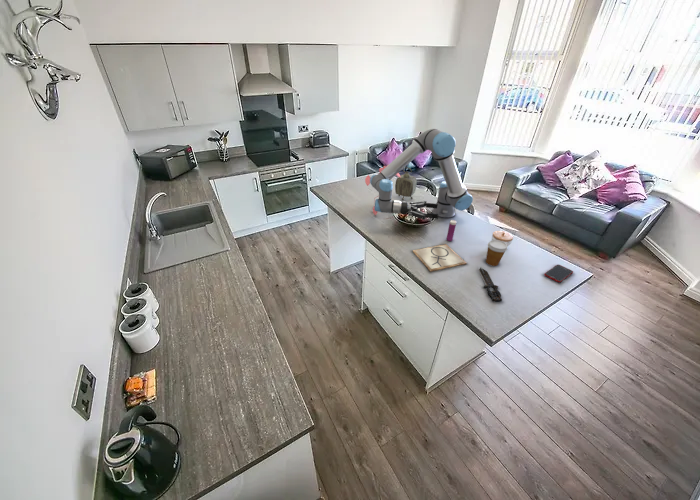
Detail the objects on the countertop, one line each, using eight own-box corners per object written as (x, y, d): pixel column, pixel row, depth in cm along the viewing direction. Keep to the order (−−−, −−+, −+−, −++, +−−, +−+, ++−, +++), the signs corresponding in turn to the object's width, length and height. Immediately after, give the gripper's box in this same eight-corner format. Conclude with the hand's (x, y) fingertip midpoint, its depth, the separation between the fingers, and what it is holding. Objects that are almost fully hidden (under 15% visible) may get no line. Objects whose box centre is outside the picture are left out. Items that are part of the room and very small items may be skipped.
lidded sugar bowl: (493, 239, 176) (498, 226, 170) (512, 246, 169) (517, 232, 164) (486, 246, 169) (490, 232, 164) (504, 253, 163) (509, 239, 158)
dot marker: (450, 238, 177) (454, 219, 170) (453, 241, 174) (457, 222, 167) (444, 239, 176) (448, 220, 169) (448, 242, 174) (452, 223, 166)
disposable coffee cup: (500, 259, 159) (507, 241, 152) (502, 269, 151) (509, 250, 144) (482, 256, 161) (487, 238, 155) (482, 266, 154) (488, 247, 147)
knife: (477, 268, 152) (477, 266, 152) (490, 269, 152) (490, 267, 151) (488, 301, 132) (489, 299, 131) (503, 302, 131) (504, 300, 130)
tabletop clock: (414, 198, 226) (418, 167, 212) (410, 203, 220) (414, 171, 206) (397, 195, 233) (400, 164, 219) (393, 199, 226) (395, 167, 212)
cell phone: (573, 272, 148) (574, 271, 148) (559, 283, 142) (560, 281, 141) (557, 265, 154) (558, 263, 153) (543, 275, 147) (543, 273, 146)
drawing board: (445, 245, 171) (446, 243, 170) (466, 264, 155) (466, 262, 155) (412, 251, 166) (412, 249, 165) (430, 272, 150) (430, 270, 149)
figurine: (362, 214, 205) (363, 165, 185) (391, 206, 215) (395, 159, 195) (373, 223, 194) (375, 172, 174) (404, 215, 204) (409, 165, 184)
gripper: (401, 204, 183) (436, 207, 179) (398, 223, 163) (437, 227, 159) (402, 193, 179) (438, 196, 175) (399, 211, 158) (439, 214, 155)
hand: (437, 211), depth 167 cm, fingers open, 13 cm apart
